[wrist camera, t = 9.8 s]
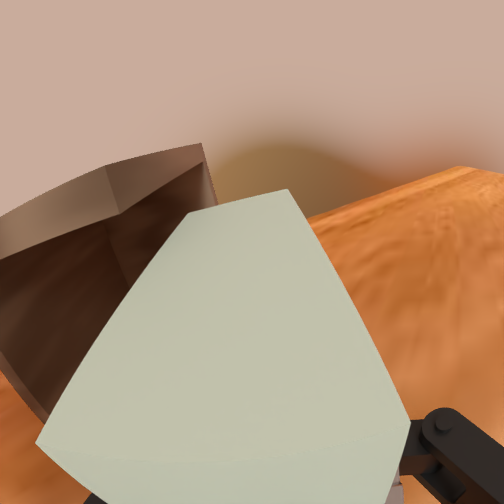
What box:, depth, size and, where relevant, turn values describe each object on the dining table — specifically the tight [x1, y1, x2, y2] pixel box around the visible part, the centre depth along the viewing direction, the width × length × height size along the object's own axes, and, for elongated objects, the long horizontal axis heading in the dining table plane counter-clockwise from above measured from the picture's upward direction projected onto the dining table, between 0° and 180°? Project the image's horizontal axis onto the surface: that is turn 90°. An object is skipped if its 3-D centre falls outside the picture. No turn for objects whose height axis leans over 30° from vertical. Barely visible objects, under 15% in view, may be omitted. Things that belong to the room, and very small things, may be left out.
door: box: [35, 189, 411, 504], centre depth 9 cm, size 4×9×14 cm, turn 1°
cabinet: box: [0, 143, 218, 425], centre depth 16 cm, size 15×14×18 cm
